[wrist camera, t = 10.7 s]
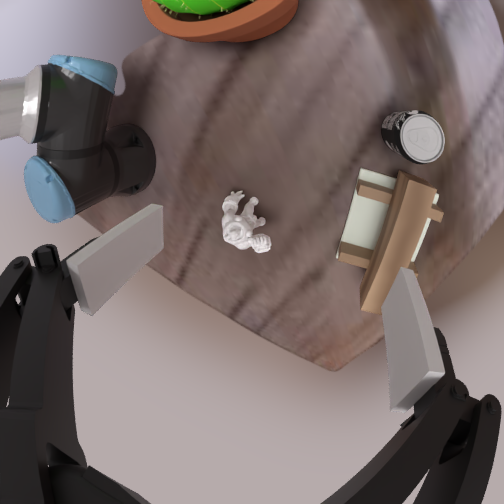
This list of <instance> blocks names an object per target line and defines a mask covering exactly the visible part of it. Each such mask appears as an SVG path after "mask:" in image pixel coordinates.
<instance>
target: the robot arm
mask: <svg viewBox="0 0 504 504" xmlns="http://www.w3.org/2000/svg"><path fill="white" fill-rule="evenodd" d="M116 78H117V69H116V67H115V66H114V65H113V64H110V63H107V62H103V61H99V60H94V59H88V58H82V57H72V56H65V55H53V56H51V58H50V60H48V65H37V66H36V67H35V68H34V69H33V70H32V71H31V72H30V73H28V74H27V76H25V77H18V78H11V79H4V80H0V140H2V139H6V138H11V137H15V136H20V137H22V138H23V139H24V140H25V141H26V142H27V143H28V144H33V143H37V155H36V156H33V157H31V158H30V159H29V160H28V161H27V163H26V166H25V169H24V179H25V186H26V190H27V193H28V195H29V198H30V200H31V203H32V204H33V206H34V208H35V209H36V211H37V212H38V213H39V215H40V216H41V217H42V218H43V219H45V220H46V221H48V222H50V223H58V222H61V221H63V220H65V219H67V218H72V217H73V216H74V215H76V214H78V213H80V212H81V211H83V210H85V209H87V208H89V207H91V206H92V205H94V204H96V203H98V202H100V201H102V200H104V199H106V198H108V197H115V196H131V195H134V194H136V193H138V192H140V191H142V190H144V189H145V188H146V187H147V186H148V185H149V183H150V182H151V180H152V177H153V175H154V171H155V152H154V148H153V145H152V142H151V140H150V138H149V137H148V135H147V134H146V133H145V132H144V131H143V130H142V129H141V128H139V127H138V126H135V125H132V124H124V125H118V126H115V127H113V128H111V129H109V130H108V131H106V127H107V121H108V116H109V111H110V107H111V102H112V98H113V94H115V91H114V88H115V83H116ZM163 248H164V240H163V206H161V205H157V204H150V205H149V206H147V207H145V208H144V209H142V210H140V211H139V212H137V213H135V214H134V215H132V216H131V217H129V218H127V219H126V220H124V221H123V222H121V223H120V224H118V225H117V226H115V227H113V228H112V229H110V230H109V231H107V232H106V233H104V234H103V235H101V236H99V237H97V238H94V239H92V240H90V241H89V242H88V243H86V244H85V245H83V246H82V247H80V248H79V249H77V250H76V251H75V252H73V253H72V254H70V255H69V256H68V257H66V258H65V259H63V260H62V261H61V262H60V259H59V255H58V251H57V247H56V246H55V245H52V244H46V245H42V246H40V247H38V248H37V249H35V250H34V251H33V253H32V257H33V260H34V263H35V267H34V266H31V263H30V260H29V258H28V257H26V256H20V257H17V258H15V259H14V260H12V262H10V264H9V265H8V266H7V267H6V269H5V270H4V272H3V273H2V274H1V276H0V504H150V503H149V502H148V501H147V500H145V499H144V498H143V497H142V496H140V495H139V494H138V493H136V492H134V491H132V490H130V489H128V488H127V487H125V486H123V485H121V484H119V483H118V482H116V481H115V480H113V479H111V478H109V477H107V476H106V475H104V474H102V473H101V472H99V471H97V470H96V469H94V468H93V467H91V466H88V468H87V463H86V459H85V455H84V452H83V450H82V448H81V446H80V444H79V442H78V438H77V431H76V423H75V412H74V399H73V375H72V374H73V373H72V370H73V368H72V366H73V365H72V360H73V357H72V355H73V331H74V316H75V308H74V305H73V304H74V303H76V302H77V301H78V303H79V305H80V308H81V310H82V311H83V312H85V313H87V314H89V315H91V316H93V315H94V314H95V313H96V312H97V311H98V310H99V309H100V308H101V307H102V306H103V305H104V304H105V303H106V302H107V301H108V300H109V299H110V298H111V297H112V296H113V295H114V294H115V293H116V292H117V291H118V290H119V289H120V288H121V287H122V286H123V285H124V284H125V283H126V282H127V281H129V280H130V279H131V278H132V277H133V276H134V275H135V274H136V273H137V272H138V271H139V270H140V269H141V268H142V267H143V266H145V265H146V264H147V263H148V262H149V261H150V260H151V259H152V258H153V257H154V256H156V255H157V254H158V253H159V252H160V251H161V250H162V249H163ZM17 294H18V296H19V298H20V303H19V304H17V302H16V299H15V298H16V296H17ZM381 310H382V317H383V325H384V333H385V341H386V349H387V350H386V351H387V362H388V375H389V391H390V411H393V412H404V413H405V412H407V411H408V410H409V409H410V408H411V407H412V406H413V405H414V414H413V415H412V416H411V417H409V418H408V419H407V420H406V421H405V422H403V423H402V424H401V425H400V426H401V428H400V430H399V431H398V432H397V433H396V434H395V436H394V437H393V438H392V439H391V440H390V441H389V442H388V443H387V444H386V445H385V446H384V447H383V449H382V450H381V451H380V452H379V453H378V454H377V455H376V456H375V457H374V458H373V459H372V460H371V461H370V462H369V463H368V464H367V465H366V466H365V467H364V468H363V469H361V470H360V471H359V472H358V473H357V474H356V475H355V476H354V477H353V478H352V479H351V480H349V481H348V482H347V483H346V484H345V485H344V486H342V487H341V488H340V489H339V490H338V491H336V492H335V493H334V494H333V495H332V496H330V497H329V498H327V499H326V500H325V501H324V502H322V503H321V504H402V503H403V502H404V501H405V500H406V498H407V497H408V496H409V495H410V494H411V492H412V491H413V490H414V488H415V487H416V486H417V485H418V484H419V482H420V481H421V480H422V478H423V477H424V475H425V474H426V473H427V471H428V469H429V472H428V474H427V476H426V478H425V481H424V483H423V485H422V487H421V489H420V491H419V493H418V495H417V497H416V499H415V501H414V503H413V504H481V503H482V500H483V497H484V494H485V491H486V488H487V484H488V481H489V477H490V474H491V470H492V466H493V462H494V457H495V452H496V446H497V441H498V435H499V428H500V421H501V405H500V402H499V400H498V399H497V398H496V397H495V396H494V395H491V394H487V395H485V397H483V398H482V399H481V400H480V401H479V400H477V399H475V398H472V397H470V396H469V392H468V389H467V387H466V386H465V385H464V383H463V382H461V381H460V380H458V379H456V377H455V373H454V370H453V365H452V361H451V358H450V355H449V350H448V348H447V344H446V340H445V337H444V336H443V334H442V333H441V331H440V330H439V328H435V327H433V325H432V322H431V318H430V315H429V312H428V309H427V306H426V303H425V300H424V298H423V295H422V292H421V289H420V287H419V284H418V281H417V279H416V276H415V274H414V271H413V270H410V269H407V268H403V267H401V268H400V270H399V272H398V274H397V276H396V279H395V281H394V283H393V285H392V287H391V289H390V291H389V293H388V295H387V297H386V299H385V301H384V303H383V305H382V307H381ZM8 398H9V405H8V407H6V406H7V402H8ZM48 465H49V467H48Z"/></svg>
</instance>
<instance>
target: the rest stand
mask: <svg viewBox="0 0 504 504" xmlns="http://www.w3.org/2000/svg"><path fill="white" fill-rule="evenodd" d="M395 183H396V178H393V177H390V176H387V175H384V174H381V173H378V172H374V171H371V170H368V169H364V168H361V167H360V171H359V175H358V179H357V183H356V187H355V191H354V195H353V199H352V202H351V206H350V210H349V213H348V217H347V220H346V224H345V227H344V230H343V234H342V237H341V240H340V244H339V247H338V250H337V253H336V258H338V261H341V262H345V263H348V264H352V265H356V266H359V267H363V268H366V269H367V267H368V265H369V262H370V260H371V257H372V254H373V251H374V249H375V246H376V243H377V240H378V237H379V235H380V232H381V229H382V226H383V223H384V220H385V216H386V213H387V210H388V207H389V204H390V200H391V197H392V193H393V190H394V186H395ZM438 197H439V194H437V193H436V194H435V197H434V200H433V203H432V206H431V209H430V212H429V215H428V218H427V221H426V224H425V226H424V229H423V232H422V234H421V237H420V239H419V242H418V244H417V247H416V249H415V252H414V254H413V257H412V259H411V261H410V264H409V266H408V268H407V269H410V270H413V271H414V274H415V276H416V278H417V276H418V272H417V269H416V267H415V264H414V260H415V258H416V256H417V253H418V251H419V248H420V246H421V244H422V241H423V239H424V236H425V234H426V231H427V228H428V226H429V223H430V220H431V219H433V220H435V221H438V222H441V220H442V217H443V214H444V212H443V211H442V210H441V209H440V208H439V207H438V206H437V205H436V203H437V200H438Z"/></svg>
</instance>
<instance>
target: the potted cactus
mask: <svg viewBox="0 0 504 504" xmlns="http://www.w3.org/2000/svg"><path fill="white" fill-rule="evenodd" d="M142 5H143V9H144V12H145V14H146V16H147V18H148V19H149V21H150V22H151V23H152V24H153V25H154V26H155V27H156V28H157V29H158V30H160V31H162V32H163V33H166V34H168V35H171V36H174V37H177V38H179V39H183V40H186V41H192V42H214V41H221V40H222V41H227V42H245V41H252V40H256V39H260V38H263V37H265V36H268V35H270V34H273V33H275V32H276V31H278V30H280V29H281V28H283V27H284V26H285V25H286V24H288V23H289V22H290V20H291V19H292V18H293V16H294V15H295V13H296V11H297V7H298V0H142Z"/></svg>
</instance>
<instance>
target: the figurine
mask: <svg viewBox="0 0 504 504" xmlns="http://www.w3.org/2000/svg"><path fill="white" fill-rule="evenodd" d="M242 192H243V191H239V192H237V193H234V192H233V191H232V192H231V195H230V196H227V197H226V198H225V200H224V203H223V205H222V208H223V211H224V216H223V217H222V227H223V238H224V240H225V241H226V242H228V243H230V244H233V245H235V246H236V247H237V248H238V249H247V248H249V247H250V246H251V247H253V249H254V250H255V252H257V253H262V252H267V251H269V249H270V246H271V241H270V237H268V235H265V234H257V235H252V234H253V232H252V231H253V229H254V228H256V227H259V226H263V225H264V224H265V223H266V220H265V218H263V217H260V218H259V219H257V217H256V215H253V212H254V206H255V205H257V204H258V202H259V201H258V199H257V198H256V197H252V198H251V199H250V201H249V202H248V203H247V204H245V206H244V210H243V212H242V213H241V215H235V213H236V211H237V210H238V203H239V201H240V199H241V198H242V197H244V196H245V195H244V194H243V195H242Z"/></svg>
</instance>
